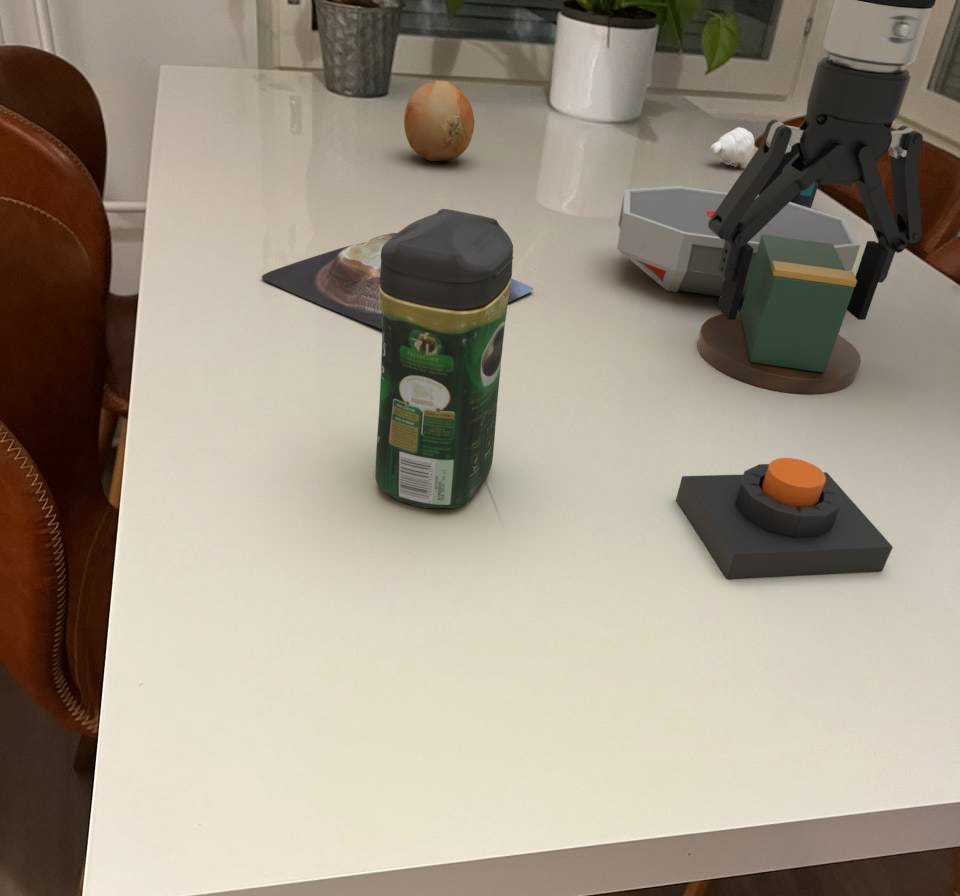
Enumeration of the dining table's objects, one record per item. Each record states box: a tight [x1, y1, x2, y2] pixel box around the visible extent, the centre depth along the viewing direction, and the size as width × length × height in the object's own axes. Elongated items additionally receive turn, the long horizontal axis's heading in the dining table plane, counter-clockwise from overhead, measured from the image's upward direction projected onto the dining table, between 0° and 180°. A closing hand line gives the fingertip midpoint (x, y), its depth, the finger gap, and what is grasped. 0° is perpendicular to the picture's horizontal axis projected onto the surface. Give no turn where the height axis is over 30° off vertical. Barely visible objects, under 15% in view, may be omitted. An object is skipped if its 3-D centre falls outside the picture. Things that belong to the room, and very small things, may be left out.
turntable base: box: [696, 311, 862, 395], centre depth 97 cm, size 16×16×2 cm
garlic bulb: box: [710, 127, 755, 168], centre depth 150 cm, size 6×6×5 cm
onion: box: [403, 80, 475, 162], centre depth 136 cm, size 10×10×10 cm
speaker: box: [758, 144, 820, 209], centre depth 133 cm, size 8×6×10 cm
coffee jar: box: [374, 208, 514, 509], centre depth 68 cm, size 10×8×19 cm
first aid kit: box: [616, 185, 861, 301], centre depth 109 cm, size 18×8×25 cm
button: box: [762, 457, 826, 507], centre depth 69 cm, size 4×4×2 cm
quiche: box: [261, 232, 534, 330], centre depth 101 cm, size 21×20×4 cm
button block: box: [675, 463, 894, 581], centre depth 71 cm, size 12×10×4 cm
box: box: [739, 235, 857, 373], centre depth 93 cm, size 12×7×9 cm, turn 173°
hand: (791, 314), depth 94 cm, fingers open, 13 cm apart
